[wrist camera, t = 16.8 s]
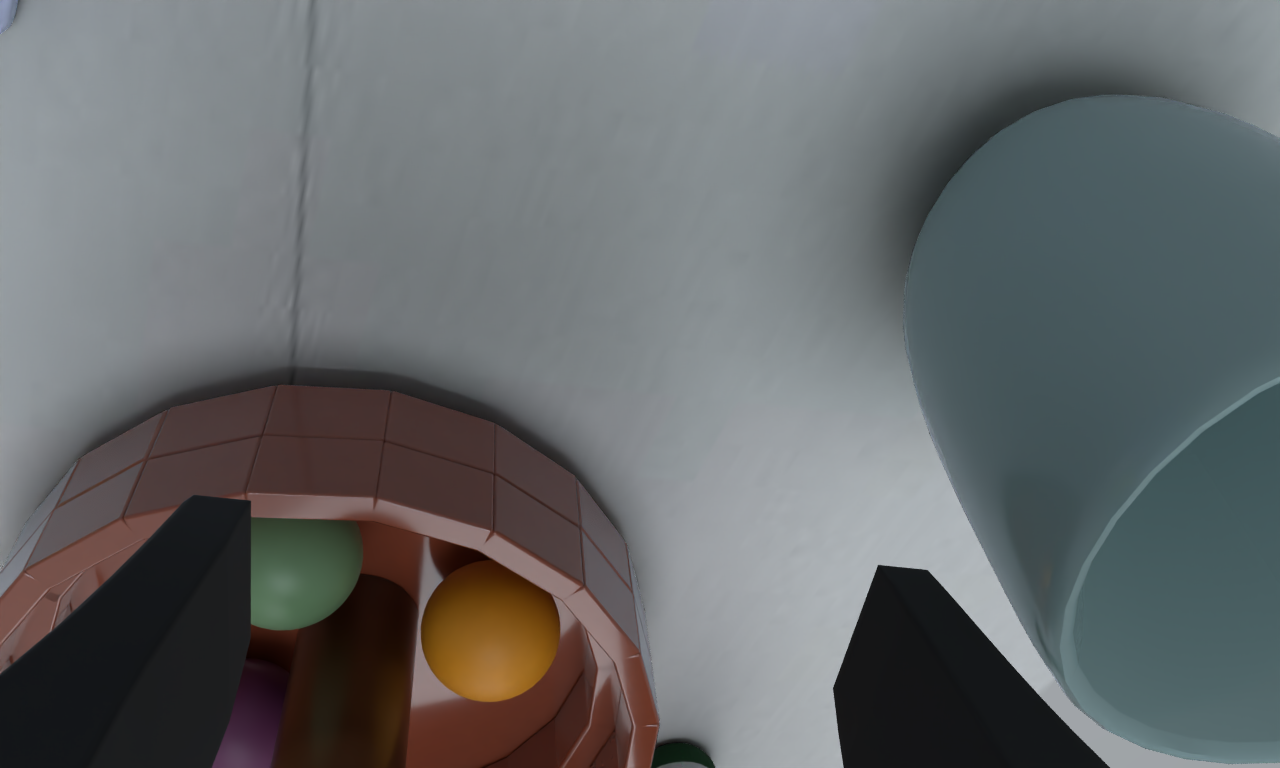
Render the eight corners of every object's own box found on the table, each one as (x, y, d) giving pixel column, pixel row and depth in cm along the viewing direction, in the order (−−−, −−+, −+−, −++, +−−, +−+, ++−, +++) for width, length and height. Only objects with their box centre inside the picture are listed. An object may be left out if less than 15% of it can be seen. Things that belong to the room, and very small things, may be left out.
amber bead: (379, 680, 25) (405, 549, 24) (476, 653, 27) (501, 533, 27) (479, 742, 23) (508, 601, 23) (572, 706, 26) (600, 579, 25)
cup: (1106, 425, 26) (1382, 803, 18) (797, 343, 24) (947, 725, 16) (1323, 110, 22) (1803, 407, 14) (977, -20, 20) (1300, 236, 12)
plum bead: (129, 749, 26) (152, 700, 24) (231, 662, 28) (260, 611, 26) (224, 843, 26) (254, 802, 24) (318, 749, 28) (355, 703, 26)
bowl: (-24, 742, 28) (-94, 892, 25) (92, 275, 22) (17, 394, 18) (510, 847, 33) (510, 986, 29) (740, 483, 26) (774, 610, 23)
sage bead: (153, 535, 23) (206, 617, 21) (266, 428, 24) (328, 497, 21) (251, 603, 25) (308, 683, 23) (352, 502, 26) (416, 572, 24)
